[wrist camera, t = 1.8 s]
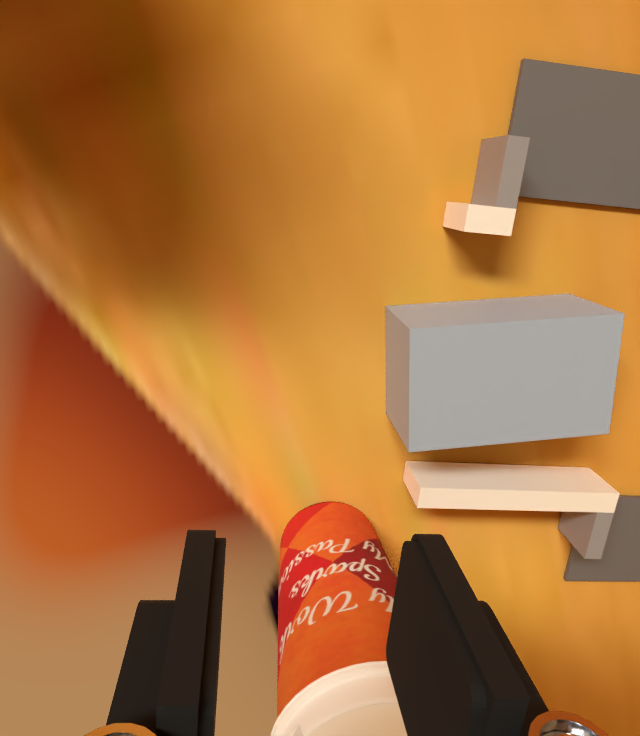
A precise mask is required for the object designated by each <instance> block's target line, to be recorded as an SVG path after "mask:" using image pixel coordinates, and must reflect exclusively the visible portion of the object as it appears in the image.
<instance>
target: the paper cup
mask: <svg viewBox="0 0 640 736" xmlns="http://www.w3.org/2000/svg"><path fill="white" fill-rule="evenodd" d="M396 583H397V577H396V574H395V572H394V570H393V568H392V566H391V564H390V562H389V560H388V557H387V555H386V553H385V551H384V549H383V547H382V545H381V543H380V541H379V539H378V537H377V535H376V533H375V531H374V529H373V527H372V525H371V524H370V522H369V520H368V519H367V518H366V517H365V515H364V514H363V513H362V512H360V511H359V510H358V509H356V508H355V507H353V506H350V505H348V504H345V503H340V502H322V503H317V504H314V505H311V506H309V507H307V508H305V509H303V510H301V511H300V512H298V513H297V514H296V515H295V516H294V517H293V518H292V519H291V520H290V521H289V523H288V524H287V526H286V528H285V530H284V532H283V535H282V539H281V545H280V560H279V605H278V686H277V688H278V689H277V690H278V691H277V720H276V722H275V724H274V727H273V729H272V732H271V736H407V732H406V729H405V725H404V722H403V718H402V715H401V711H400V708H399V704H398V701H397V697H396V694H395V690H394V687H393V683H392V680H391V676H390V672H389V669H388V665H387V659H386V644H387V638H388V632H389V626H390V620H391V613H392V607H393V601H394V595H395V589H396Z"/></svg>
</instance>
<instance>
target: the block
mask: <svg viewBox="0 0 640 736" xmlns="http://www.w3.org/2000/svg"><path fill="white" fill-rule="evenodd" d="M623 322H624V313H622V312H619V311H616V310H613V309H611V308H608V307H605V306H602V305H599V304H597V303H594V302H591V301H588V300H585V299H583V298H580V297H577V296H574V295H572V294H557V295H542V296H527V297H512V298H497V299H482V300H467V301H452V302H438V303H423V304H408V305H393V306H385V348H386V414H387V416H388V418H389V419H390V421H391V423H392V424H393V426H394V428H395V430H396V431H397V433H398V435H399V436H400V438H401V440H402V442H403V443H404V445H405V447H406V448H407V450H408V452H419V451H429V450H440V449H451V448H462V447H472V446H483V445H494V444H505V443H515V442H526V441H537V440H548V439H558V438H569V437H580V436H591V435H601V434H609V431H610V423H611V415H612V408H613V400H614V392H615V384H616V377H617V369H618V361H619V353H620V346H621V338H622V330H623Z"/></svg>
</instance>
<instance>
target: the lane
mask: <svg viewBox="0 0 640 736" xmlns="http://www.w3.org/2000/svg"><path fill="white" fill-rule="evenodd" d="M519 196H521V197H530V198H540V199H549V200H558V201H568V202H577V203H587V204H596V205H606V206H615V207H625V208H634V209H640V75H637V74H630V73H623V72H616V71H608V70H601V69H594V68H587V67H580V66H573V65H566V64H559V63H552V62H545V61H538V60H531V59H522V60H521V65H520V71H519V76H518V82H517V87H516V93H515V98H514V104H513V109H512V115H511V120H510V126H509V131H508V135H505V136H499V137H494V138H488V139H482V142H481V148H480V154H479V160H478V165H477V171H476V177H475V183H474V189H473V195H472V201H471V204H465V203H456V202H447V204H446V210H445V216H444V223H443V227H447V228H451V229H455V230H460V231H464V232H474V233H484V234H495V235H505V236H511V234H512V229H513V223H514V218H515V213H516V208H517V203H518V198H519ZM403 481H404V483H405V485H406V487H407V489H408V491H409V493H410V495H411V497H412V499H413V501H414V503H415V504H416V506H417V508H440V509H481V510H521V511H562V514H561V518H560V521H559V525H558V529H559V530H560V532H561V533H562V534H563V535H564V536H565V537H566V538H567V539H568V541H569V542H570V543H571V544H572V548H571V552H570V555H569V559H568V563H567V567H566V570H565V574H564V579H565V580H566V581H640V496H623V495H619V494H620V493H618V492H617V491H616V490H615V489H614V488H612V487H611V486H610V485H609V484H608V483H607V482H605V481H604V480H603V479H602V478H601V477H600V476H598V475H597V474H596V473H595V472H594V471H592V470H591V469H590V468H588V467H560V466H533V465H505V464H478V463H450V462H423V461H406V463H405V470H404V476H403Z"/></svg>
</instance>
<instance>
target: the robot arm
mask: <svg viewBox="0 0 640 736" xmlns="http://www.w3.org/2000/svg"><path fill="white" fill-rule="evenodd" d="M215 537H216V531H215V530H188V531H187V537H186V542H185V548H184V554H183V559H182V565H181V570H180V576H179V582H178V587H177V593H176V599H175V600H174V601H173V600H152V601H151V600H140V602H139V603H138V606H137V610H136V613H135V617H134V621H133V625H132V628H131V633H130V636H129V640H128V644H127V648H126V651H125V655H124V659H123V663H122V666H121V670H120V674H119V678H118V682H117V685H116V689H115V693H114V697H113V701H112V704H111V708H110V712H109V716H108V719H107V723H106V726H103V727H100V728H97V729H95V730H93V731H92V732H90V733H88V734H86V735H84V736H214V732H215V715H216V701H217V686H218V670H219V654H220V636H221V619H222V618H221V617H222V600H223V584H224V566H225V548H226V538H215ZM386 659H387V665H388V669H389V672H390V676H391V680H392V683H393V687H394V690H395V694H396V697H397V701H398V704H399V708H400V711H401V715H402V718H403V722H404V725H405V729H406V732H407V736H609V735H608V734H607V733H606V732H605V731H603V730H602V729H600V728H599V727H598V726H596V725H595V724H593V723H592V722H590V721H588V720H586V719H584V718H582V717H580V716H578V715H575V714H571V713H567V712H563V711H549V710H548V709H547V707H546V705H545V703H544V701H543V700H542V698H541V696H540V694H539V693H538V691H537V689H536V687H535V685H534V684H533V682H532V680H531V678H530V677H529V675H528V673H527V671H526V669H525V668H524V666H523V664H522V662H521V661H520V659H519V657H518V655H517V653H516V652H515V650H514V648H513V646H512V645H511V643H510V641H509V639H508V637H507V636H506V634H505V632H504V630H503V629H502V627H501V625H500V623H499V621H498V620H497V618H496V616H495V614H494V613H493V611H492V609H491V608H490V606H489V605H488V604H487V603H486V602H484V601H478V600H477V598H476V596H475V594H474V592H473V590H472V589H471V587H470V585H469V583H468V581H467V579H466V577H465V576H464V574H463V572H462V570H461V568H460V566H459V565H458V563H457V561H456V559H455V557H454V555H453V553H452V552H451V550H450V548H449V546H448V544H447V542H446V541H445V539H444V537H443V536H442V535H440V534H414V535H413V537H412V539H411V541H405V542H404V543H403V547H402V552H401V559H400V565H399V571H398V577H397V583H396V589H395V595H394V601H393V607H392V613H391V620H390V626H389V632H388V638H387V644H386Z"/></svg>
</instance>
